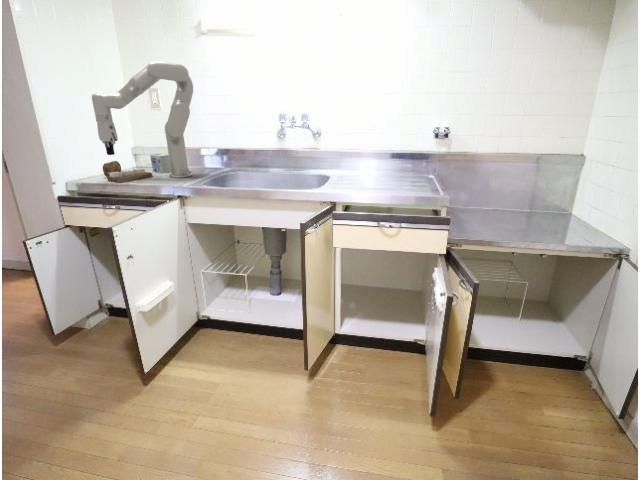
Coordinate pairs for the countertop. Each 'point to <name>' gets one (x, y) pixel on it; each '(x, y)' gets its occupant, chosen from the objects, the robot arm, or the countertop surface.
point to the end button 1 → (115, 174)
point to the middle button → (127, 172)
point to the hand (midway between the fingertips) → (110, 154)
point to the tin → (111, 167)
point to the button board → (130, 177)
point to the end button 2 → (138, 170)
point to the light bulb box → (160, 163)
